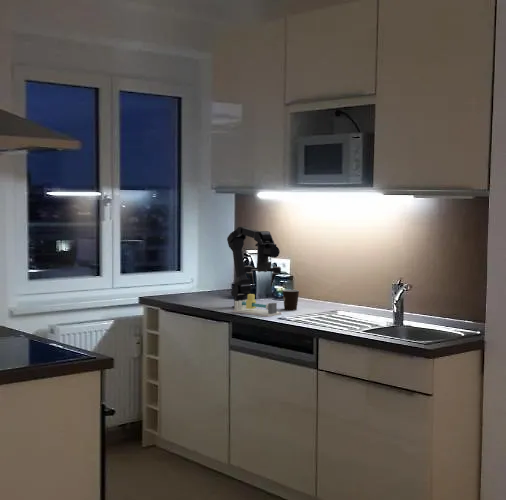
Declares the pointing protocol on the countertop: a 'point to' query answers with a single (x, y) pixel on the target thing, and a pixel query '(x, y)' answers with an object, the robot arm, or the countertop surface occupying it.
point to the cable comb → (251, 310)
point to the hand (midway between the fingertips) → (262, 286)
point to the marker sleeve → (250, 301)
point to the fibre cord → (270, 307)
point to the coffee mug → (290, 299)
